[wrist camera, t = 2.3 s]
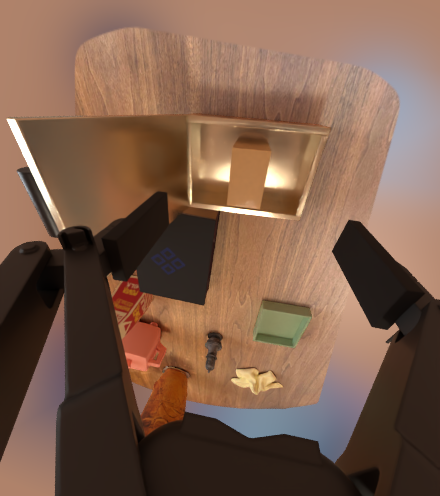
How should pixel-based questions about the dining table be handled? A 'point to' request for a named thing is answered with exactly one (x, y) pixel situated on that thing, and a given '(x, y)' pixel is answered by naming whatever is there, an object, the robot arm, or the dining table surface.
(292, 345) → the tray
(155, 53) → the dining table surface
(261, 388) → the cloth
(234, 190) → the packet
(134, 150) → the lid
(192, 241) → the book
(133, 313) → the milk carton
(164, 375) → the vase
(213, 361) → the dark chess piece
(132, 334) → the teapot
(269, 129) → the gold metal box
